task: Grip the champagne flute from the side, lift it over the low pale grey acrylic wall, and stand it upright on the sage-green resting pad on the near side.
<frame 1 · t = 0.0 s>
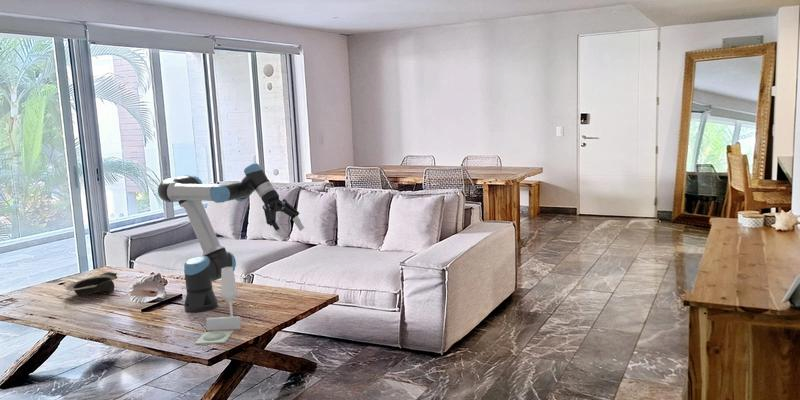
hand: (292, 232, 272), 36 cm above the table, tool tilted 35°, fingers open, 13 cm apart
low wall: (224, 329, 257), on the table
champagne flute: (232, 322, 266), on the table
resting pad: (214, 338, 247), on the table
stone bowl: (93, 294, 322), on the table
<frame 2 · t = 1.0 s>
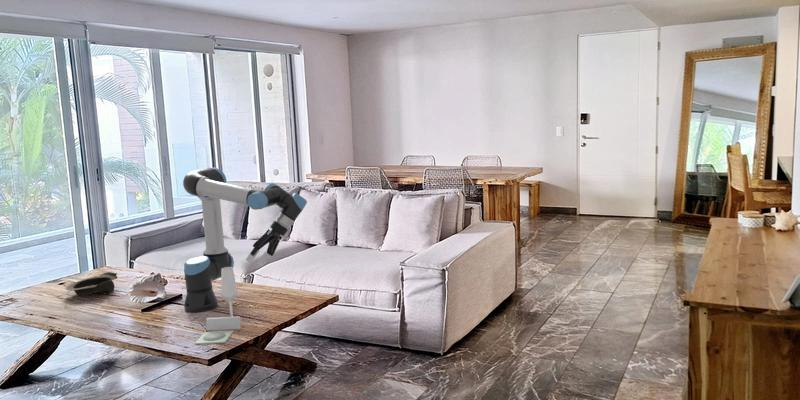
hand: (253, 263, 272), 23 cm above the table, tool tilted 40°, fingers open, 13 cm apart
nothing on the table moved.
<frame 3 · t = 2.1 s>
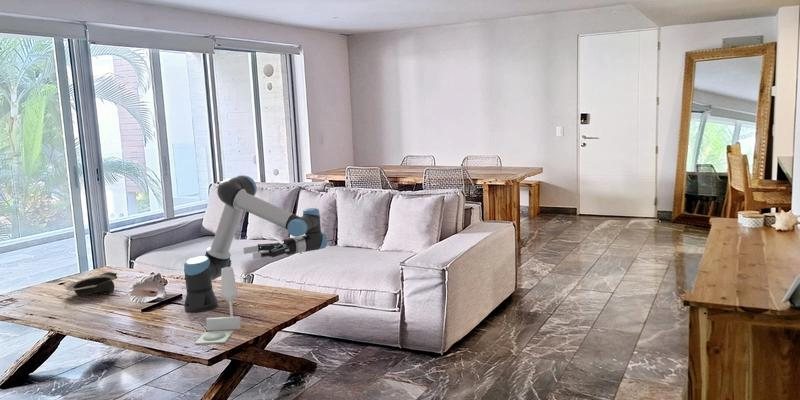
hand: (248, 253, 266), 29 cm above the table, tool horizontal, fingers open, 13 cm apart
nothing on the table moved.
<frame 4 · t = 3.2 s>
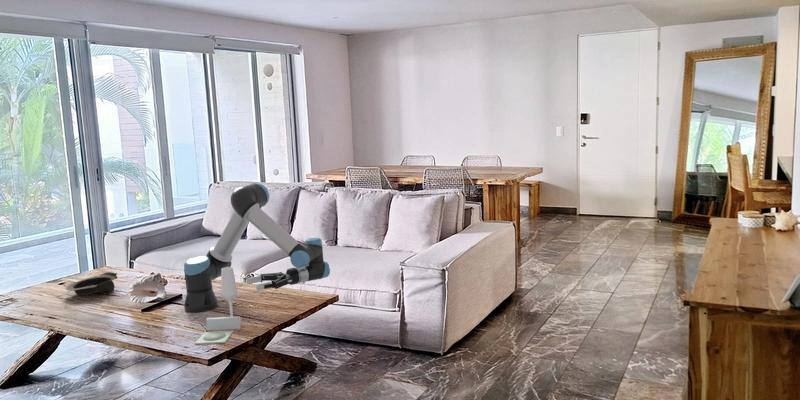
hand: (251, 284, 268), 15 cm above the table, tool horizontal, fingers open, 13 cm apart
nothing on the table moved.
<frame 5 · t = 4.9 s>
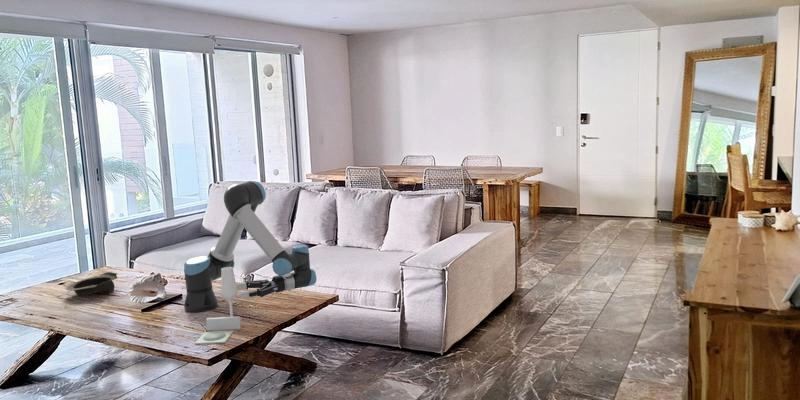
hand: (236, 292, 265), 13 cm above the table, tool horizontal, fingers open, 13 cm apart
nothing on the table moved.
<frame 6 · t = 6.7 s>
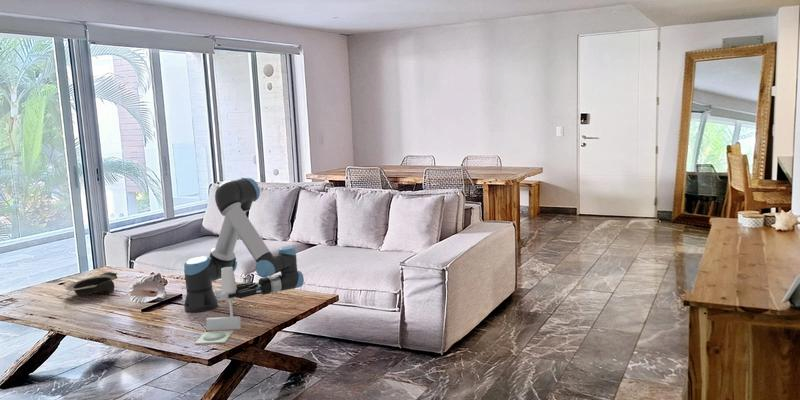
hand: (217, 295, 261), 13 cm above the table, tool horizontal, fingers closed on champagne flute, 7 cm apart
champagne flute: (232, 322, 266), on the table, touching gripper
everything else where it was.
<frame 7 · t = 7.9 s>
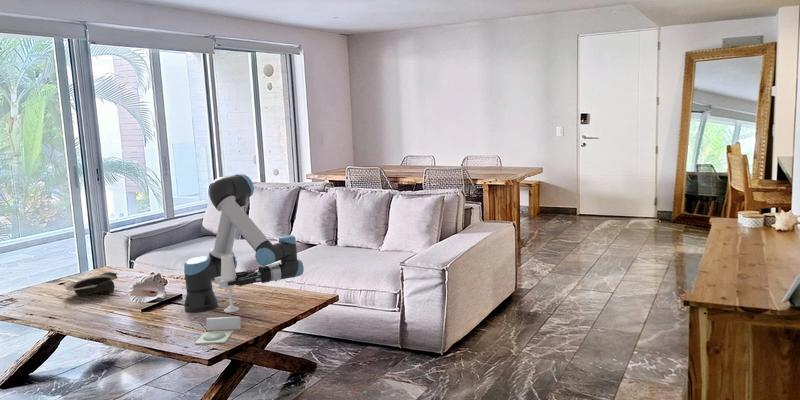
hand: (217, 282, 260), 19 cm above the table, tool horizontal, fingers closed on champagne flute, 7 cm apart
champagne flute: (231, 310, 265), point 5 cm above the table, touching gripper
everything else where it was.
when the fingers open (15 cm above the table, at t = 13.5 s): champagne flute stays where it is, resting on resting pad.
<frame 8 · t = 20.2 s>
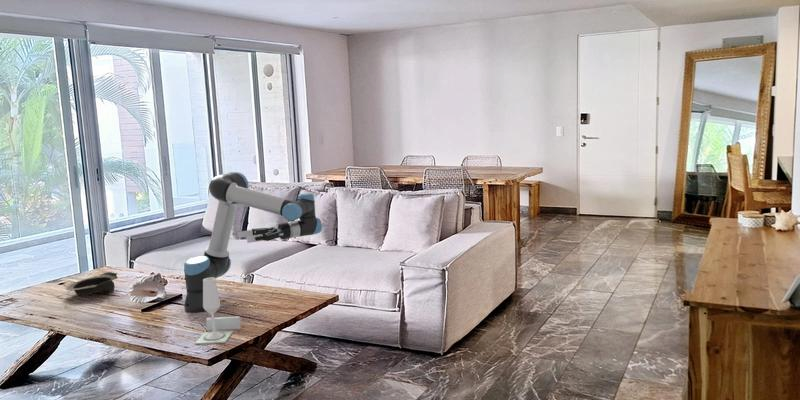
hand: (242, 237, 267), 36 cm above the table, tool horizontal, fingers open, 13 cm apart
champagne flute: (214, 336, 247), point 1 cm above the table, touching resting pad
everything else where it was.
at the end: champagne flute inside the target area on the resting pad (0.1 cm from its centre), point 0.5 cm above the resting pad's base; champagne flute tilted 0°; the gripper is holding nothing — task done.
